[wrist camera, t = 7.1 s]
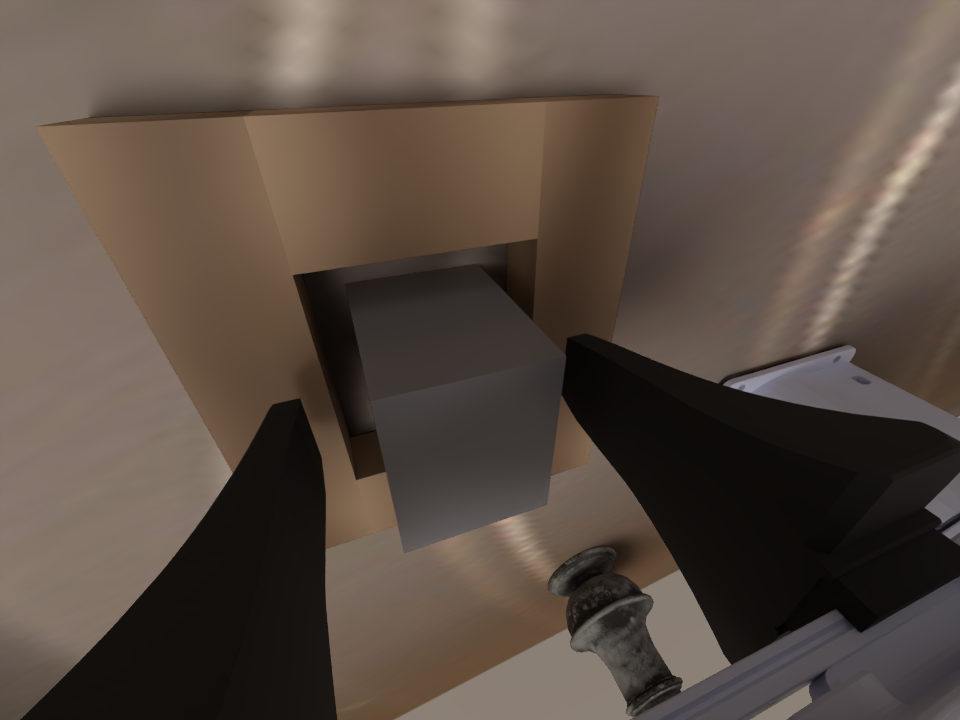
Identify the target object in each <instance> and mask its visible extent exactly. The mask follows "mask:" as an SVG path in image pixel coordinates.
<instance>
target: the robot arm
mask: <svg viewBox="0 0 960 720" xmlns="http://www.w3.org/2000/svg"><path fill="white" fill-rule="evenodd" d="M855 352H856V349H855V348H854V347H852V346H850V345H846V346H843V347H839V348H836V349H832V350H829V351H826V352H822V353H819V354H815V355H812V356H809V357H805V358H802V359H798V360H795V361H792V362H788V363H785V364H781V365H778V366H775V367H771V368H768V369H764V370H761V371H758V372H754V373H751V374H747V375H744V376H741V377H737V378H734V379H730V380H728V381H727V382H725V383H724V384H723V385H721V384H717V383H714V382H711V381H708V380H705V379H702V378H699V377H696V376H693V375H691V374H688V373H685V372H682V371H680V370H677V369H674V368H672V367H669V366H666V365H664V364H661V363H659V362H656V361H654V360H651V359H649V358H647V357H644V356H642V355H639V354H637V353H635V352H632V351H630V350H627V349H625V348H623V347H620V346H618V345H616V344H613V343H611V342H608V341H606V340H603V339H601V338H598V337H595V336H592V335H589V334H586V333H585V334H581V335H576V336H572V337H567V342H566V351H565V355H566V363H565V370H564V378H563V386H562V393H561V395H562V397H563V398H564V400H565V402H566V404H567V406H568V407H569V409H570V411H571V412H572V414H573V416H574V417H575V419H576V420H577V422H578V423H579V424H580V426H581V427H582V428H583V430H584V431H585V432H586V433H587V435H588V436H589V437H590V439H591V440H592V441H593V442H594V444H595V445H596V446H597V447H598V449H599V450H600V451H601V452H602V454H603V455H604V456H605V457H606V459H607V460H608V461H609V462H610V464H611V465H612V466H613V467H614V469H615V470H616V471H617V472H618V473H619V475H620V476H621V477H622V478H623V480H624V481H625V482H626V484H627V485H628V487H629V488H630V489H631V491H632V492H633V493H634V495H635V496H636V498H637V500H638V501H639V503H640V504H641V506H642V507H643V509H644V510H645V512H646V514H647V515H648V517H649V518H650V520H651V521H652V523H653V525H654V526H655V528H656V530H657V531H658V533H659V535H660V536H661V538H662V539H663V541H664V543H665V544H666V546H667V548H668V549H669V551H670V553H671V554H672V556H673V558H674V560H675V562H676V563H677V565H678V567H679V569H680V571H681V572H682V574H683V576H684V578H685V579H686V581H687V583H688V585H689V587H690V588H691V590H692V592H693V594H694V596H695V598H696V600H697V602H698V604H699V605H700V608H701V609H702V611H703V613H704V615H705V617H706V619H707V621H708V623H709V625H710V627H711V629H712V631H713V633H714V635H715V637H716V639H717V641H718V643H719V645H720V647H721V649H722V652H723V654H724V655H725V657H726V658H727V659H728V661H729V662H730V663H731V666H729V667H727V668H725V669H723V670H722V671H720V672H718V673H716V674H714V675H712V676H710V677H708V678H707V679H705V680H703V681H701V682H699V683H697V684H695V685H694V686H692V687H690V688H688V689H686V690H684V691H682V692H681V693H679V694H677V695H675V696H673V697H671V698H669V699H668V700H666V701H664V702H662V703H660V704H658V705H656V706H655V707H653V708H651V709H649V710H647V711H645V712H643V713H642V714H640V715H638V716H636V717H634V718H632V719H630V720H750V719H751V718H753V717H755V716H756V715H758V714H760V713H762V712H763V711H765V710H767V709H768V708H770V707H772V706H773V705H775V704H777V703H778V702H780V701H782V700H783V699H785V698H787V697H788V696H790V695H792V694H794V693H795V692H797V691H799V690H800V689H802V688H803V687H805V686H807V685H808V684H810V683H811V684H810V685H809V693H810V696H811V698H812V703H810V704H809V705H807V706H806V707H804V708H803V709H801V710H800V711H798V712H796V713H795V714H794V715H792V716H791V717H790V718H788V719H787V720H960V419H959V418H957V417H955V416H953V415H951V414H949V413H947V412H945V411H943V410H941V409H940V408H938V407H936V406H934V405H932V404H930V403H928V402H926V401H924V400H922V399H920V398H918V397H916V396H914V395H912V394H910V393H908V392H906V391H904V390H902V389H900V388H899V387H897V386H895V385H893V384H891V383H889V382H887V381H885V380H883V379H881V378H879V377H877V376H875V375H873V374H871V373H869V372H867V371H865V370H863V369H861V368H859V367H858V366H856V365H854V364H852V363H850V361H851V359H852V357H853V356H854V354H855ZM325 551H326V489H325V480H324V472H323V464H322V456H321V454H320V451H319V448H318V446H317V443H316V440H315V437H314V435H313V432H312V429H311V427H310V424H309V421H308V418H307V416H306V413H305V410H304V407H303V405H302V402H301V399H300V398H298V399H294V400H289V401H285V402H281V403H276V404H273V405H272V406H271V407H270V409H269V410H268V412H267V414H266V416H265V418H264V420H263V421H262V423H261V425H260V427H259V429H258V431H257V433H256V434H255V436H254V438H253V440H252V442H251V443H250V445H249V447H248V449H247V451H246V452H245V454H244V456H243V457H242V459H241V461H240V462H239V464H238V466H237V467H236V469H235V471H234V472H233V474H232V476H231V477H230V479H229V480H228V482H227V483H226V485H225V486H224V488H223V489H222V491H221V492H220V494H219V495H218V497H217V498H216V500H215V501H214V503H213V504H212V506H211V507H210V509H209V510H208V512H207V513H206V515H205V516H204V518H203V519H202V520H201V522H200V523H199V524H198V526H197V527H196V529H195V530H194V531H193V533H192V534H191V535H190V537H189V538H188V539H187V541H186V542H185V543H184V544H183V546H182V547H181V548H180V549H179V551H178V552H177V553H176V555H175V556H174V557H173V558H172V560H171V561H170V562H169V563H168V565H167V566H166V567H165V568H164V569H163V571H162V572H161V573H160V574H159V575H158V576H157V578H156V579H155V580H154V581H153V582H152V583H151V585H150V586H149V587H148V588H147V589H146V590H145V591H144V592H143V594H142V595H141V596H140V597H139V598H138V599H137V600H136V601H135V603H134V604H133V605H132V606H131V607H130V608H129V609H128V610H127V612H126V613H125V614H124V615H123V616H122V617H121V618H120V619H119V621H118V622H117V623H116V624H115V625H114V626H113V627H112V628H111V629H110V630H109V631H108V632H107V634H106V635H105V636H104V637H103V638H102V639H101V640H100V641H99V642H98V643H97V644H96V645H95V646H94V647H93V648H92V649H91V650H90V651H89V652H88V653H87V654H86V655H85V656H84V657H83V658H82V659H81V660H80V661H79V662H78V663H77V664H76V665H75V666H74V667H73V668H72V669H71V670H70V671H69V672H68V673H67V674H66V675H65V676H64V677H63V678H62V679H61V680H60V681H59V682H58V683H57V684H56V685H55V686H54V687H53V688H52V689H51V690H50V691H49V692H48V693H47V694H46V695H45V696H44V697H43V698H42V699H41V700H40V701H39V702H38V703H37V704H36V705H35V706H34V707H33V708H32V709H31V710H30V711H29V712H28V713H27V714H26V715H25V716H24V717H23V718H22V719H20V720H337V714H336V705H335V696H334V686H333V676H332V666H331V656H330V646H329V635H328V623H327V612H326V595H325Z"/></svg>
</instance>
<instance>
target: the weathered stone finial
mask: <svg viewBox="0 0 960 720" xmlns="http://www.w3.org/2000/svg"><path fill="white" fill-rule="evenodd" d="M615 561H616V552H615V550H614V549H613V548H611V547H609V546H600V547H594V548H591V549H588V550H586V551H583V552H581V553H579V554H577V555H576V556H574V557H572V558H571V559H569V560H568V561H566V562H565V563H564V564H563V565H561V566H560V567H559V568H558V569H557V570H556V571H555V572H554V574H553V575H552V577H551V578H550V580H549V583H548V590H549V592H550V593H551V594H552V595H556V596H562V597H570V598H569V600H568V605H567V609H566V618H567V625H568V630H569V632H570V634H571V636H572V638H571V641H570V644H571V648H572V649H573V650H574V651H576V652H587V651H591V652H593V653H596V654H597V655H598V656H599V657H600V658H601V660H602V661H603V662H604V663H605V665H606V666H607V667H608V669H609V670H610V671H611V673H612V675H613V677H614V679H615V681H616V683H617V685H618V687H619V688H620V690H621V692H622V694H623V696H624V698H625V700H626V702H627V709H626V714H627V715H628V716H632V717H636V716H638V715H640V714H642V713H643V712H645V711H647V710H649V709H651V708H653V707H655V706H656V705H658V704H660V703H662V702H664V701H666V700H668V699H669V698H671V697H673V696H675V695H677V694H679V693H681V691H680V689H681V687H682V679H681V678H680V677H676V676H673V675H672V674H671V672H670V670H669V669H668V667H667V666H666V664H665V662H664V661H663V659H662V658H661V656H660V654H659V653H658V651H657V650H656V648H655V646H654V645H653V642H652V640H651V637H650V635H649V632H648V630H647V627H646V624H645V623H646V616H647V615H648V613H649V612H650V610H651V609H652V606H653V599H652V597H651V596H650V595H647V594H643V593H642V591H641V590H640V588H639V587H638V586H637V585H636V584H635V583H634V582H632V581H631V580H630V579H628V578H627V577H625V576H623V575H619V574H616V573H610V572H611V570H612V568H613V566H614V563H615Z"/></svg>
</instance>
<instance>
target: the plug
mask: <svg viewBox="0 0 960 720" xmlns="http://www.w3.org/2000/svg"><path fill="white" fill-rule="evenodd" d="M345 286H346V291H347V296H348V301H349V305H350V310H351V315H352V319H353V324H354V329H355V333H356V338H357V343H358V347H359V352H360V357H361V362H362V366H363V371H364V376H365V380H366V385H367V390H368V394H369V399H370V404H371V408H372V413H373V417H374V421H375V426H376V430H377V435H378V439H379V444H380V448H381V452H382V457H383V461H384V466H385V470H386V475H387V479H388V483H389V488H390V492H391V497H392V501H393V506H394V510H395V514H396V519H397V523H398V528H399V532H400V537H401V541H402V545H403V550H404V553H407V552H410V551H412V550H415V549H418V548H421V547H424V546H427V545H430V544H433V543H436V542H439V541H442V540H445V539H448V538H451V537H453V536H456V535H459V534H462V533H465V532H468V531H471V530H474V529H477V528H480V527H483V526H486V525H489V524H492V523H495V522H497V521H500V520H503V519H506V518H509V517H512V516H515V515H518V514H521V513H524V512H527V511H530V510H533V509H536V508H538V507H541V506H544V505H547V501H548V493H549V485H550V478H551V470H552V462H553V455H554V447H555V439H556V432H557V424H558V416H559V409H560V401H561V393H562V386H563V378H564V370H565V363H566V355H565V354H564V353H563V352H562V351H561V350H560V349H559V348H558V347H557V346H556V345H555V344H554V343H553V342H552V341H551V340H550V339H549V338H548V337H547V335H546V334H545V333H544V332H543V331H542V330H541V329H540V328H539V327H538V326H537V325H536V324H535V323H534V322H533V321H532V320H531V319H530V318H529V317H528V316H527V315H526V314H525V313H524V312H523V311H522V310H521V308H520V307H519V306H518V305H517V304H516V303H515V302H514V301H513V300H512V299H511V298H510V297H509V296H508V295H507V294H506V293H505V292H504V291H503V290H502V289H501V288H500V287H499V286H498V285H497V284H496V282H495V281H494V280H493V279H492V278H491V277H490V276H489V275H488V274H487V273H486V272H485V271H484V270H483V269H482V268H481V267H480V266H479V265H478V264H472V265H465V266H459V267H452V268H446V269H439V270H432V271H426V272H419V273H413V274H406V275H399V276H393V277H386V278H380V279H373V280H366V281H360V282H353V283H347V284H345Z"/></svg>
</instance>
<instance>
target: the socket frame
mask: <svg viewBox="0 0 960 720" xmlns="http://www.w3.org/2000/svg"><path fill="white" fill-rule="evenodd" d="M658 100H659V96H643V95H618V94H602V95H580V96H558V97H536V98H514V99H492V100H470V101H448V102H426V103H404V104H382V105H360V106H338V107H316V108H294V109H272V110H250V111H228V112H206V113H184V114H162V115H140V116H118V117H96V118H84V119H78V120H72V121H66V122H60V123H54V124H48V125H42V126H36V127H35V128H36V130H37V131H38V133H39V135H40V137H41V138H42V140H43V142H44V144H45V145H46V147H47V149H48V151H49V152H50V154H51V156H52V158H53V159H54V161H55V163H56V165H57V166H58V168H59V170H60V172H61V173H62V175H63V177H64V179H65V180H66V182H67V184H68V185H69V187H70V189H71V191H72V192H73V194H74V196H75V198H76V199H77V201H78V203H79V205H80V206H81V208H82V210H83V212H84V213H85V215H86V217H87V219H88V220H89V222H90V224H91V226H92V227H93V229H94V231H95V233H96V234H97V236H98V238H99V240H100V241H101V243H102V245H103V247H104V248H105V250H106V252H107V254H108V255H109V257H110V259H111V261H112V262H113V264H114V266H115V268H116V269H117V271H118V273H119V275H120V276H121V278H122V280H123V282H124V283H125V285H126V287H127V289H128V290H129V292H130V294H131V296H132V297H133V299H134V301H135V303H136V304H137V306H138V308H139V310H140V311H141V313H142V315H143V317H144V318H145V320H146V322H147V324H148V325H149V327H150V329H151V330H152V332H153V334H154V336H155V337H156V339H157V341H158V343H159V344H160V346H161V348H162V350H163V351H164V353H165V355H166V357H167V358H168V360H169V362H170V364H171V365H172V367H173V369H174V371H175V372H176V374H177V376H178V378H179V379H180V381H181V383H182V385H183V386H184V388H185V390H186V392H187V393H188V395H189V397H190V399H191V400H192V402H193V404H194V406H195V407H196V409H197V411H198V413H199V414H200V416H201V418H202V420H203V421H204V423H205V425H206V427H207V428H208V430H209V432H210V434H211V435H212V437H213V439H214V441H215V442H216V444H217V446H218V448H219V449H220V451H221V453H222V455H223V456H224V458H225V460H226V462H227V463H228V465H229V467H230V469H231V470H232V472H234V471H235V469H236V467H237V466H238V464H239V462H240V461H241V459H242V457H243V456H244V454H245V452H246V451H247V449H248V447H249V445H250V443H251V442H252V440H253V438H254V436H255V434H256V433H257V431H258V429H259V427H260V425H261V423H262V421H263V420H264V418H265V416H266V414H267V412H268V410H269V409H270V407H271V406H272V405H273V404H276V403H281V402H285V401H289V400H294V399H298V398H300V399H301V402H302V405H303V407H304V410H305V413H306V416H307V418H308V421H309V424H310V427H311V429H312V432H313V435H314V437H315V440H316V443H317V446H318V448H319V451H320V454H321V456H322V464H323V472H324V480H325V489H326V549H327V548H330V547H334V546H337V545H340V544H343V543H346V542H349V541H352V540H355V539H358V538H361V537H364V536H367V535H370V534H373V533H376V532H379V531H383V530H386V529H389V528H392V527H395V526H398V523H397V519H396V514H395V510H394V506H393V501H392V497H391V492H390V488H389V483H388V479H387V475H386V470H385V466H384V461H383V457H382V452H381V448H380V444H379V439H378V435H377V431H374V432H370V433H366V434H363V435H359V436H355V437H351V438H350V435H349V432H348V428H347V425H346V421H345V418H344V415H343V411H342V408H341V404H340V401H339V398H338V394H337V391H336V388H335V384H334V381H333V377H332V374H331V371H330V367H329V364H328V360H327V357H326V354H325V350H324V347H323V343H322V340H321V337H320V333H319V330H318V327H317V323H316V320H315V316H314V313H313V310H312V306H311V303H310V299H309V296H308V293H307V289H306V286H305V282H304V279H303V276H302V274H303V273H310V272H317V271H323V270H330V269H337V268H343V267H350V266H357V265H363V264H370V263H377V262H384V261H390V260H397V259H404V258H410V257H417V256H424V255H431V254H437V253H444V252H451V251H457V250H464V249H471V248H477V247H484V246H491V245H498V244H504V243H507V281H506V294H507V295H508V296H509V297H510V298H511V299H512V300H513V301H514V302H515V303H516V304H517V305H518V306H519V307H520V308H521V310H522V311H523V312H524V313H525V314H526V315H527V316H528V317H529V318H530V319H531V320H532V321H533V322H534V323H535V324H536V325H537V326H538V327H539V328H540V329H541V330H542V331H543V332H544V333H545V334H546V335H547V337H548V338H549V339H550V340H551V341H552V342H553V343H554V344H555V345H556V346H557V347H558V348H559V349H560V350H561V351H562V352H563V353H564V354H565V351H566V342H567V337H572V336H576V335H581V334H585V333H586V334H589V335H592V336H595V337H598V338H601V339H603V340H606V341H608V342H612V337H613V331H614V326H615V321H616V316H617V311H618V306H619V301H620V295H621V290H622V285H623V280H624V275H625V270H626V264H627V259H628V254H629V249H630V244H631V239H632V234H633V228H634V223H635V218H636V213H637V208H638V203H639V198H640V192H641V187H642V182H643V177H644V172H645V167H646V161H647V156H648V151H649V146H650V141H651V136H652V131H653V125H654V120H655V115H656V110H657V105H658ZM591 445H592V440H591V439H590V437H589V436H588V435H587V433H586V432H585V431H584V430H583V428H582V427H581V426H580V424H579V423H578V422H577V420H576V419H575V417H574V416H573V414H572V412H571V411H570V409H569V407H568V406H567V404H566V402H565V400H564V398H563V397H562V395H561V401H560V409H559V416H558V424H557V432H556V439H555V447H554V455H553V462H552V470H551V475H554V474H557V473H560V472H563V471H566V470H569V469H572V468H576V467H579V466H582V465H585V464H588V460H589V455H590V450H591Z"/></svg>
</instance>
